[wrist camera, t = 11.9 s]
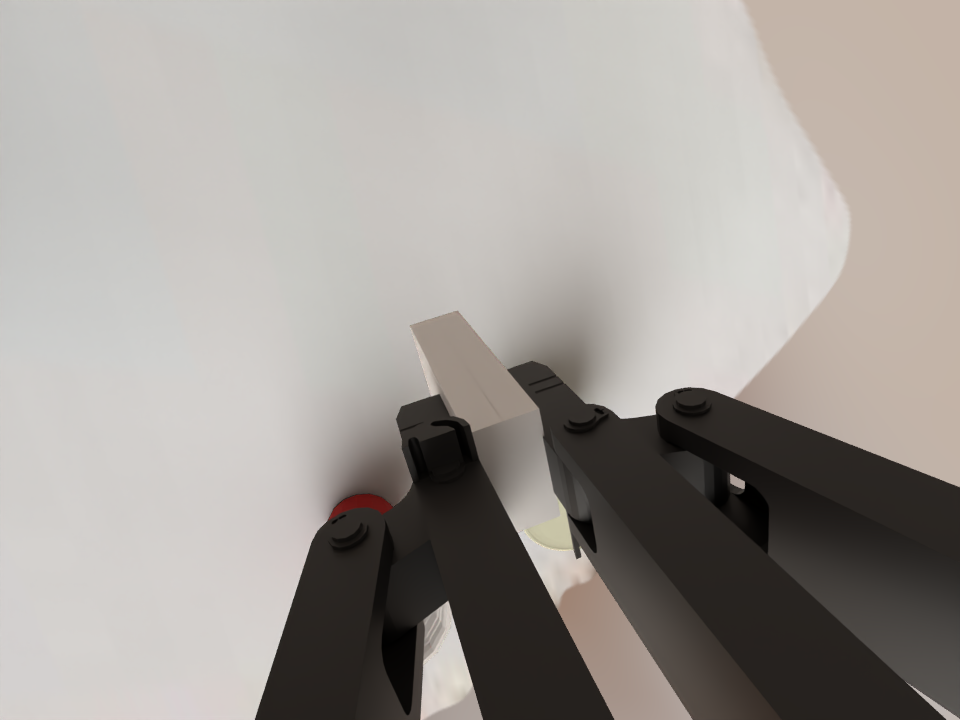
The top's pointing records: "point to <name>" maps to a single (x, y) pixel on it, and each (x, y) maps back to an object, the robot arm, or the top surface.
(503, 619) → the robot arm
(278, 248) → the top surface
